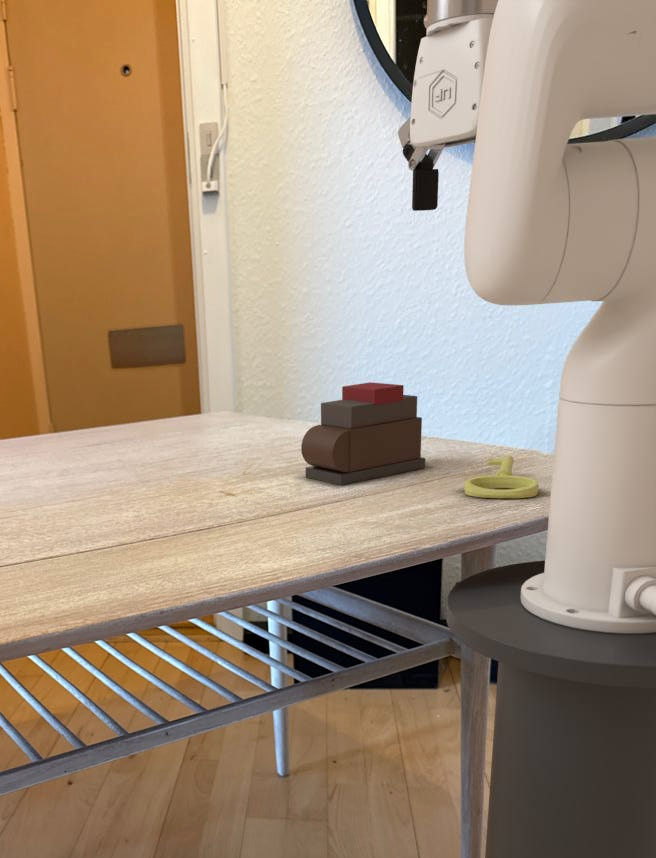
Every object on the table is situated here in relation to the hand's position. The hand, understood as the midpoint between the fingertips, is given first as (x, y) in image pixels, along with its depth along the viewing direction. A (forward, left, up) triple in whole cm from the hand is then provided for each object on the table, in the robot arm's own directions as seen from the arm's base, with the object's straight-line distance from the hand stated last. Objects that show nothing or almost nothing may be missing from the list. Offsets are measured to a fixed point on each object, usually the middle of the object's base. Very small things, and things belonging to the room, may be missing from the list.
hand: (458, 205), depth 96 cm
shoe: (+5, +8, -28) cm, 30 cm away
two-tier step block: (+5, +8, -22) cm, 24 cm away
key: (-9, -2, -28) cm, 30 cm away
